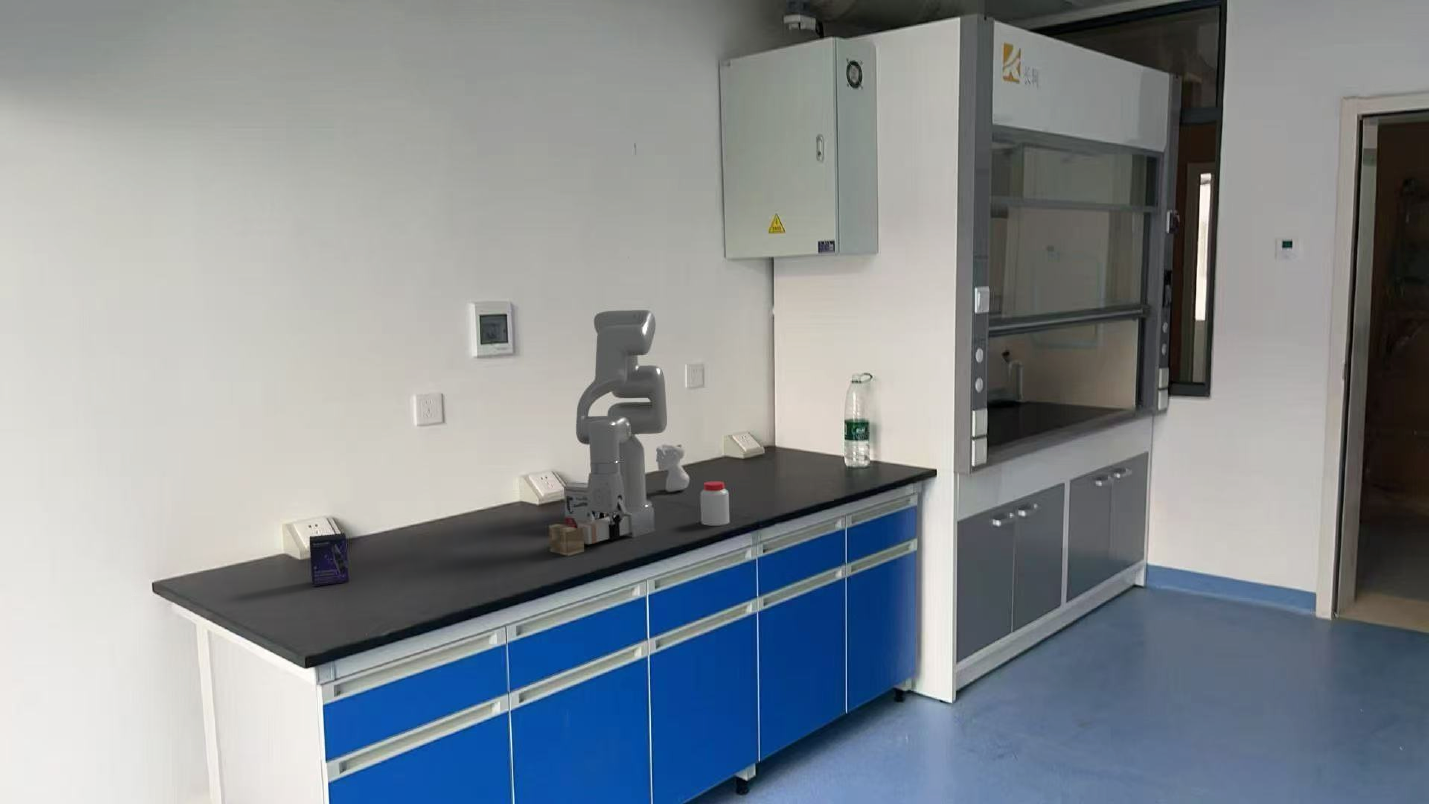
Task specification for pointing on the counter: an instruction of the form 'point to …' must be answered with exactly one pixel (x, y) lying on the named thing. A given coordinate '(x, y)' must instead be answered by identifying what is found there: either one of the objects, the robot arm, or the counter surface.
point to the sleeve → (640, 520)
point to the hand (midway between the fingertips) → (608, 536)
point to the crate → (566, 539)
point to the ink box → (576, 504)
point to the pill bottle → (714, 504)
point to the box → (328, 559)
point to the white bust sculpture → (672, 466)
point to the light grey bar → (602, 529)
